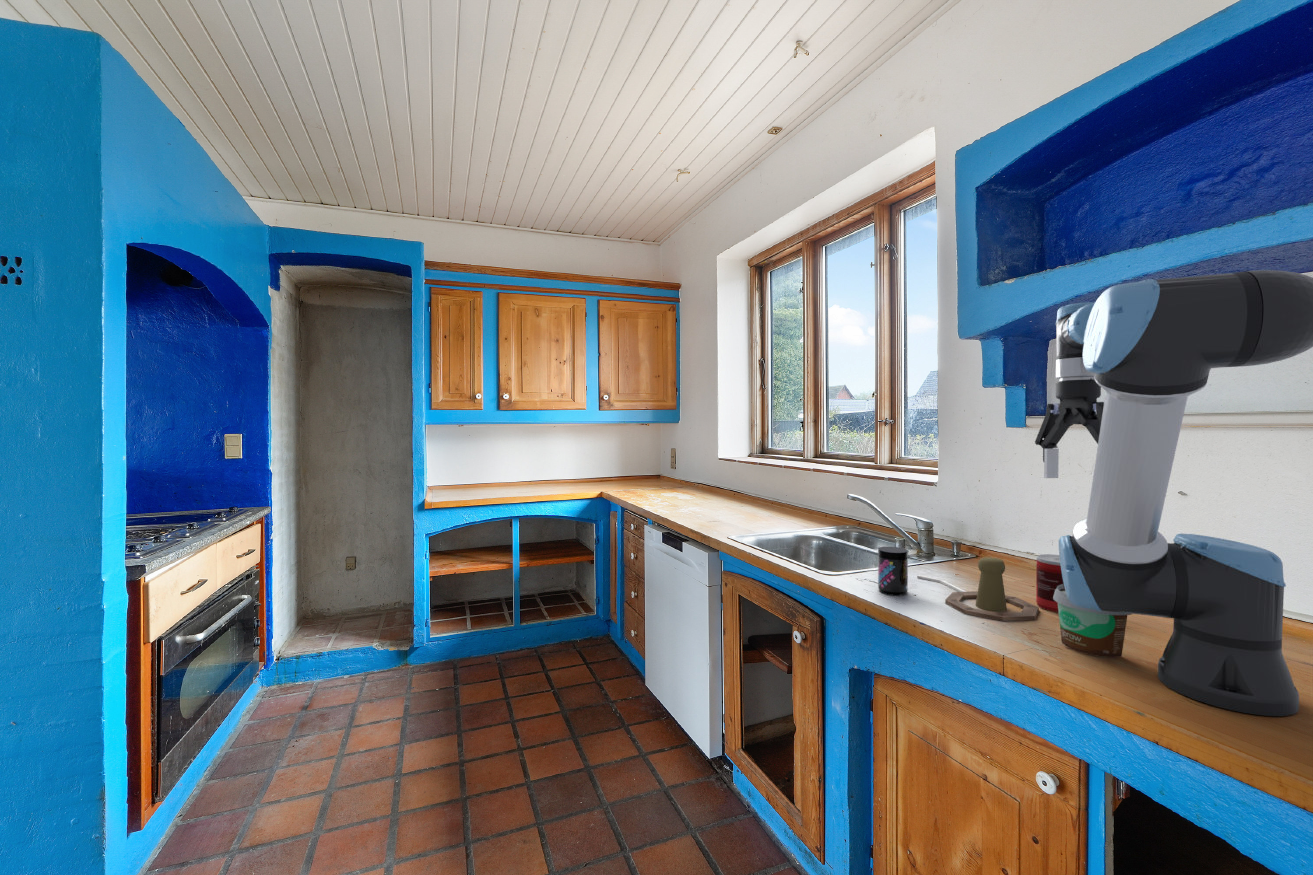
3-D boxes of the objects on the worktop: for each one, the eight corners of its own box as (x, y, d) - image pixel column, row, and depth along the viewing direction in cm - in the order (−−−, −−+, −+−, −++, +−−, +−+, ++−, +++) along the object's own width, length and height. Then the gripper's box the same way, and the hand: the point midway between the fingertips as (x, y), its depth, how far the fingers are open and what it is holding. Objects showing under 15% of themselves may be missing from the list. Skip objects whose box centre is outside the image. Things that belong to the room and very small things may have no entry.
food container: (1036, 638, 107) (1037, 586, 106) (1059, 634, 109) (1060, 583, 108) (1107, 665, 95) (1108, 607, 95) (1131, 659, 97) (1132, 602, 97)
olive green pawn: (1013, 611, 122) (1013, 561, 121) (985, 611, 122) (985, 561, 121) (996, 602, 128) (997, 554, 127) (970, 602, 128) (970, 554, 127)
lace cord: (967, 594, 134) (967, 591, 134) (950, 594, 133) (950, 592, 133) (931, 576, 149) (931, 574, 149) (916, 577, 148) (916, 575, 148)
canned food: (1073, 604, 126) (1073, 555, 126) (1083, 615, 119) (1083, 564, 118) (1032, 599, 129) (1033, 552, 129) (1039, 610, 122) (1040, 560, 122)
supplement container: (877, 586, 141) (877, 545, 140) (906, 589, 138) (907, 547, 138) (878, 594, 134) (878, 551, 134) (908, 597, 132) (909, 553, 132)
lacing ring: (1056, 618, 117) (1057, 614, 117) (980, 622, 116) (980, 618, 116) (1000, 593, 134) (1000, 590, 134) (932, 596, 132) (932, 592, 132)
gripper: (1152, 374, 104) (1150, 488, 105) (1048, 383, 129) (1047, 475, 130) (1115, 375, 104) (1113, 488, 104) (1017, 383, 128) (1016, 475, 129)
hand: (1076, 481), depth 117 cm, fingers open, 13 cm apart
